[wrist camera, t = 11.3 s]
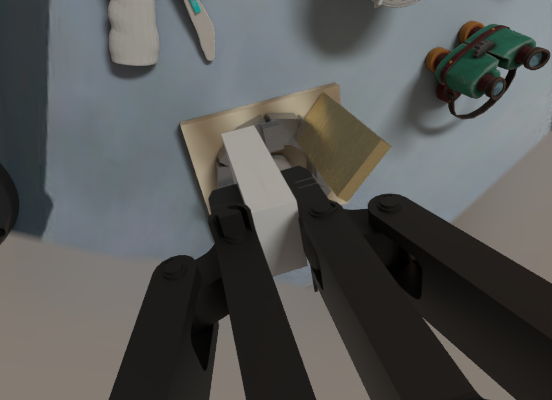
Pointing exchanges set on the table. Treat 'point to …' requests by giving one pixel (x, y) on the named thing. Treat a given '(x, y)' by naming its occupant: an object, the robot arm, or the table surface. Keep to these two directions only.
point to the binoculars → (482, 64)
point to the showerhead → (393, 3)
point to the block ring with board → (319, 145)
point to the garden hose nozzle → (150, 31)
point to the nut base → (208, 129)
